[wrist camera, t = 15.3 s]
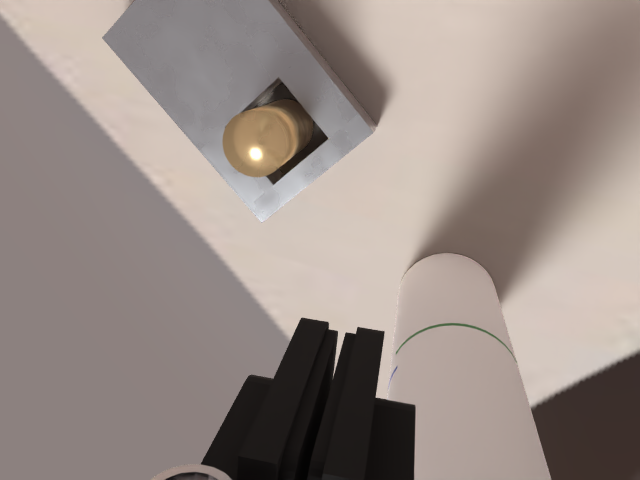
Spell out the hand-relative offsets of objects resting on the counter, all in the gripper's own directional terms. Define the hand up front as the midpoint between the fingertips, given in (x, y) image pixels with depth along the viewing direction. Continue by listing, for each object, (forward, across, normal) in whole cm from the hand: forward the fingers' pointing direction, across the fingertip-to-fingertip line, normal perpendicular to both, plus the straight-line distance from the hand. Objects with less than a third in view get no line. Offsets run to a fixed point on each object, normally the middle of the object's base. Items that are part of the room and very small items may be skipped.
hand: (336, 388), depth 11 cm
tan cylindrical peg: (+29, +8, 0) cm, 30 cm away
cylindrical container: (+29, -5, +11) cm, 31 cm away
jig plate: (+29, +11, -3) cm, 31 cm away
